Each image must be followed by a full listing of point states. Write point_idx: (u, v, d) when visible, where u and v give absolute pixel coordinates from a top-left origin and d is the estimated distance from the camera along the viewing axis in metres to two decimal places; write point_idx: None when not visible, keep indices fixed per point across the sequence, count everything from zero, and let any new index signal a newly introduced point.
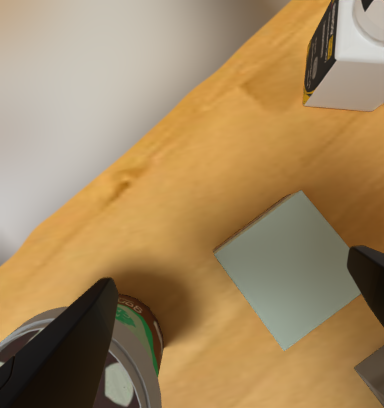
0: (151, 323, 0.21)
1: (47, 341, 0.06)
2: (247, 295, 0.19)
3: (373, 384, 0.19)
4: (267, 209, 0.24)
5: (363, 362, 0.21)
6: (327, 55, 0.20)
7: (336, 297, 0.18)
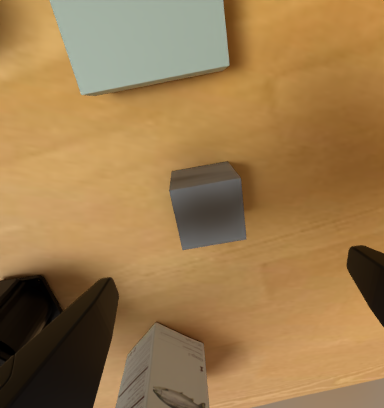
0: None
1: (47, 341, 0.06)
2: None
3: (172, 179, 0.18)
4: None
5: (183, 169, 0.21)
6: None
7: (172, 60, 0.14)
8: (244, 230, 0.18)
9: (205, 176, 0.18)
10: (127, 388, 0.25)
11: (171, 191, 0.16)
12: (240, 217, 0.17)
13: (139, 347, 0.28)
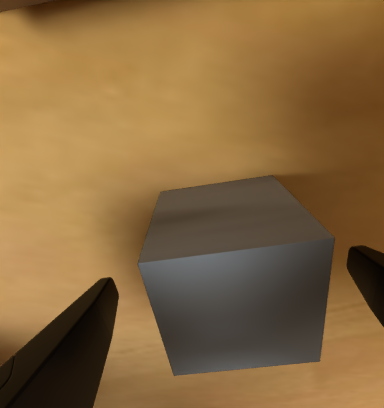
0: None
1: (47, 341, 0.06)
2: None
3: (155, 217, 0.08)
4: None
5: (182, 189, 0.10)
6: None
7: None
8: (319, 346, 0.08)
9: (230, 217, 0.07)
10: None
11: (143, 265, 0.06)
12: (314, 322, 0.07)
13: None
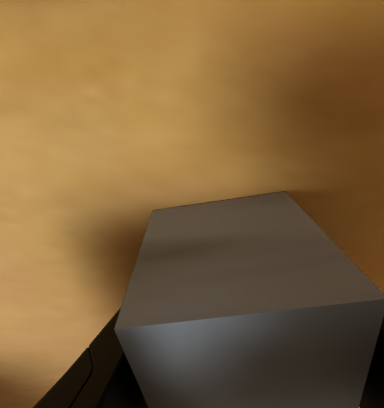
0: None
1: None
2: None
3: (143, 250, 0.07)
4: None
5: (179, 209, 0.09)
6: None
7: None
8: None
9: (239, 254, 0.06)
10: None
11: (122, 331, 0.04)
12: (348, 394, 0.05)
13: None
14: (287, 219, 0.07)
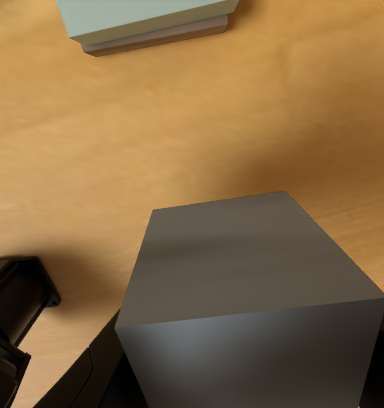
0: None
1: None
2: None
3: (144, 249, 0.07)
4: None
5: (179, 208, 0.09)
6: None
7: None
8: None
9: (239, 253, 0.06)
10: None
11: (122, 330, 0.04)
12: (348, 392, 0.05)
13: None
14: (287, 218, 0.07)
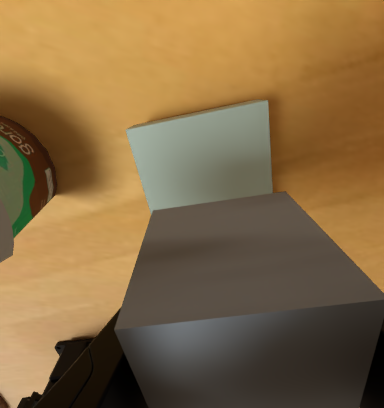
0: (40, 170, 0.18)
1: None
2: (146, 188, 0.17)
3: (143, 250, 0.07)
4: None
5: (179, 209, 0.09)
6: None
7: None
8: None
9: (239, 254, 0.06)
10: None
11: (122, 332, 0.04)
12: (349, 394, 0.05)
13: None
14: (287, 219, 0.07)
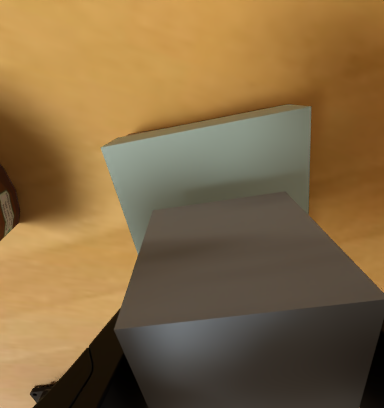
0: None
1: None
2: (133, 226, 0.12)
3: (143, 250, 0.07)
4: None
5: (179, 209, 0.09)
6: None
7: None
8: None
9: (239, 254, 0.06)
10: None
11: (122, 332, 0.04)
12: (349, 394, 0.05)
13: None
14: (287, 219, 0.07)
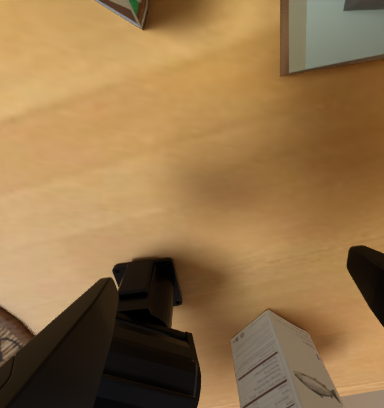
0: None
1: (47, 341, 0.06)
2: None
3: None
4: None
5: None
6: None
7: None
8: None
9: None
10: (250, 371, 0.25)
11: None
12: None
13: (250, 332, 0.28)
14: None
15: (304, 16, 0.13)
